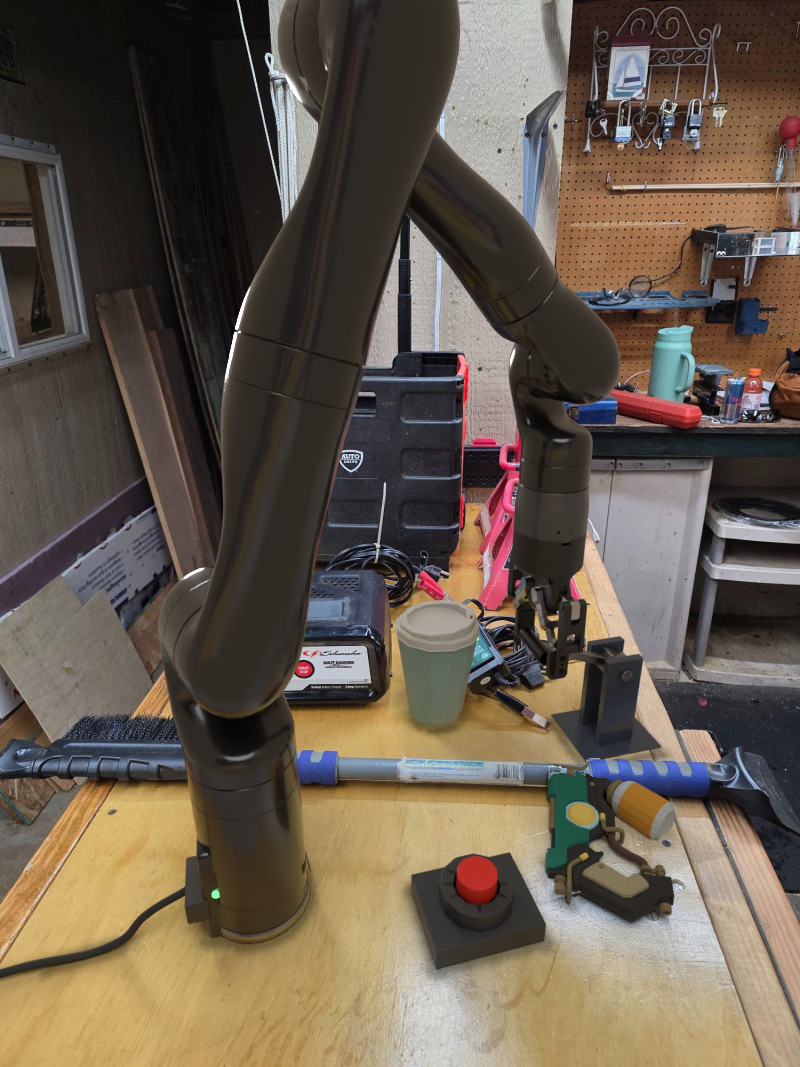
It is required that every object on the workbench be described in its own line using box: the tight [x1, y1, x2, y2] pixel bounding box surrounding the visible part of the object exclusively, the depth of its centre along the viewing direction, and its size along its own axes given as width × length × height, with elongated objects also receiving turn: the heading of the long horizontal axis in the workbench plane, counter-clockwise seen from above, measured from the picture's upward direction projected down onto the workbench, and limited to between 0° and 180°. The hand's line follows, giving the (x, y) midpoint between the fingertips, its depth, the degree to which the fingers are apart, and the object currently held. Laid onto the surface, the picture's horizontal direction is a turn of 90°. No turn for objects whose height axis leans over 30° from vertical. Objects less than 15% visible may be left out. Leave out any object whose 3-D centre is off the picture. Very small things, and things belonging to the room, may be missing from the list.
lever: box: [519, 627, 628, 673], centre depth 79 cm, size 13×6×2 cm, turn 105°
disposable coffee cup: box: [394, 599, 481, 727], centre depth 87 cm, size 11×11×15 cm
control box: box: [410, 851, 547, 970], centre depth 62 cm, size 10×8×4 cm
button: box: [457, 856, 498, 904], centre depth 61 cm, size 4×4×2 cm
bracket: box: [550, 635, 662, 764], centre depth 83 cm, size 10×9×13 cm
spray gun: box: [545, 763, 676, 923], centre depth 69 cm, size 4×17×15 cm
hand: (539, 656), depth 78 cm, fingers open, 8 cm apart
